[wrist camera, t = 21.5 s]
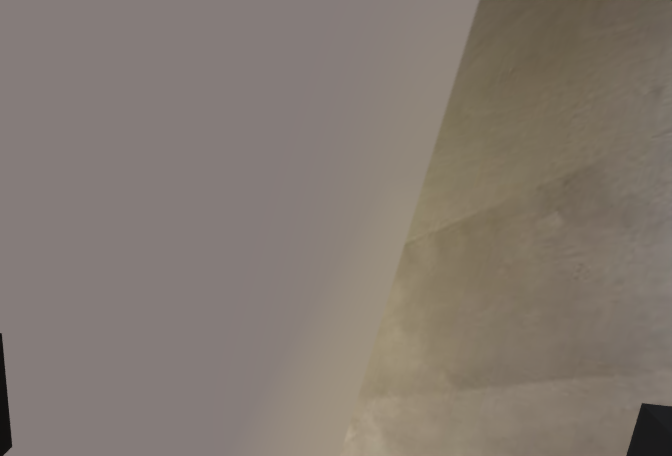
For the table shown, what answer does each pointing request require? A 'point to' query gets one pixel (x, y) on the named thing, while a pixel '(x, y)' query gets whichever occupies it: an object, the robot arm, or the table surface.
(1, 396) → the robot arm
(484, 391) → the table surface
